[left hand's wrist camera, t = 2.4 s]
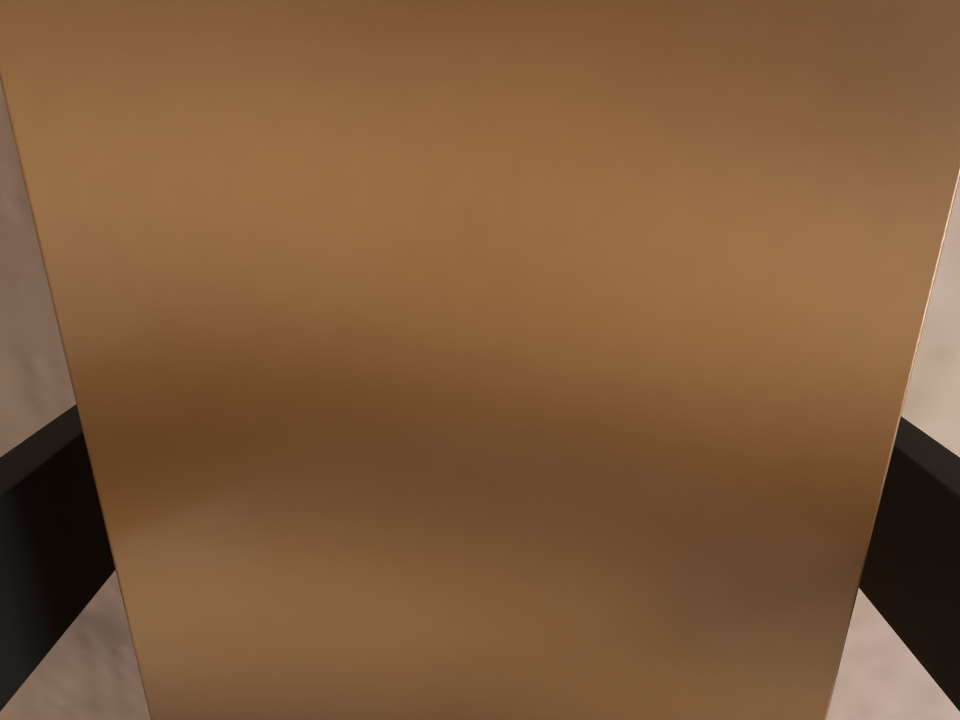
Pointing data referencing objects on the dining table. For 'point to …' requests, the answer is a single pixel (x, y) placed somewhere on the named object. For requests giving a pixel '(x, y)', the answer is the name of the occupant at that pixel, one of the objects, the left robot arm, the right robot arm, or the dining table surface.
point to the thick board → (488, 337)
